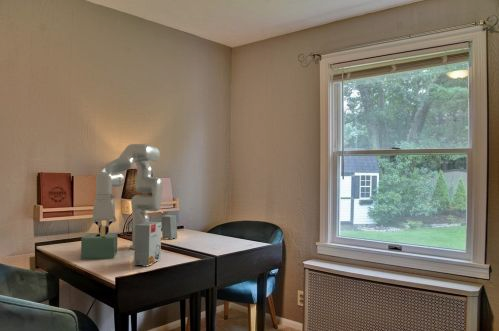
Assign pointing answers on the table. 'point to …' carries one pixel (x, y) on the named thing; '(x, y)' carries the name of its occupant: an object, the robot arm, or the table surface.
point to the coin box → (99, 246)
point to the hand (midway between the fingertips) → (103, 234)
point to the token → (103, 232)
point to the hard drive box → (147, 243)
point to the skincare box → (169, 226)
